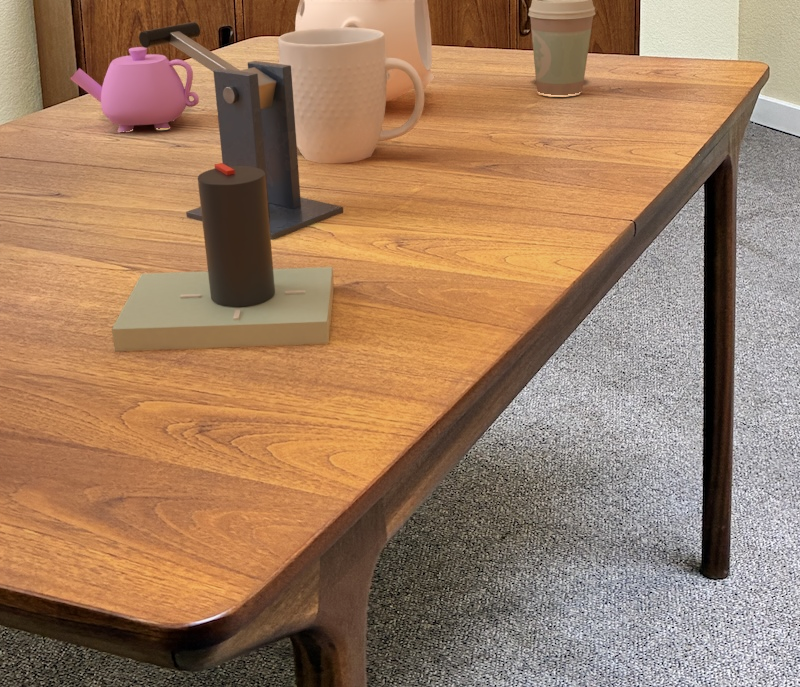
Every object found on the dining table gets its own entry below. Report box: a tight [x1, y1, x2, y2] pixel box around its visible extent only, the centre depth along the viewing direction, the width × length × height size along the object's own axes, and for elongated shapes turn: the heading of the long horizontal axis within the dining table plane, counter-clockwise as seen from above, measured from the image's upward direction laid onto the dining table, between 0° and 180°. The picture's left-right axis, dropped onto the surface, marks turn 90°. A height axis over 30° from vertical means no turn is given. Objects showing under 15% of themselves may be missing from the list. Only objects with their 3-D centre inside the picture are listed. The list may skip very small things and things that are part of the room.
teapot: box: [69, 46, 200, 133], centre depth 134 cm, size 10×15×9 cm
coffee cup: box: [527, 0, 596, 95], centre depth 142 cm, size 8×9×12 cm
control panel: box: [111, 266, 335, 352], centre depth 77 cm, size 14×10×3 cm
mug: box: [277, 27, 425, 165], centre depth 116 cm, size 15×11×13 cm
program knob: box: [197, 162, 275, 307], centre depth 74 cm, size 4×4×9 cm
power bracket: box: [185, 60, 344, 241], centre depth 97 cm, size 11×9×14 cm
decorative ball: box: [294, 0, 435, 103], centre depth 137 cm, size 20×17×20 cm
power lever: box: [138, 21, 276, 109], centre depth 97 cm, size 13×6×2 cm, turn 51°
